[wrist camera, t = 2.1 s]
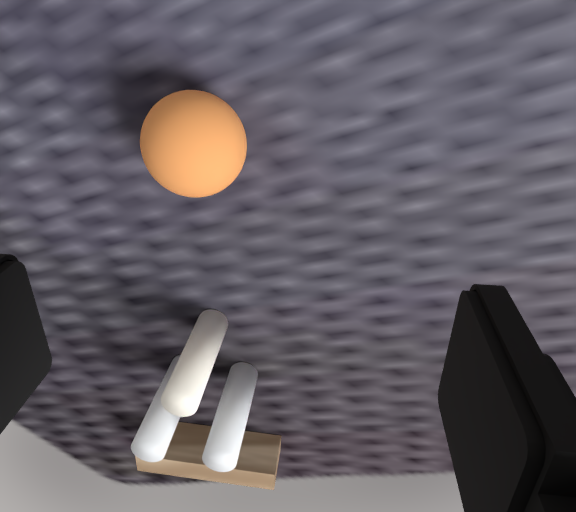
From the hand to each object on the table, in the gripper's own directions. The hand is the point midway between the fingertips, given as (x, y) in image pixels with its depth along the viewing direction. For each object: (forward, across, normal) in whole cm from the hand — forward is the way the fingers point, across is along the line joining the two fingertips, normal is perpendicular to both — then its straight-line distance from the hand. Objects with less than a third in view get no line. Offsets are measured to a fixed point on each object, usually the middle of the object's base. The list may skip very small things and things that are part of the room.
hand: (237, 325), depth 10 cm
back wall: (+21, +7, +29) cm, 37 cm away
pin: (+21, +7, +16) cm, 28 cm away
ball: (+18, +6, +1) cm, 19 cm away
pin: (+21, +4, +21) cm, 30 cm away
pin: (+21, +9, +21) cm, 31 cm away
